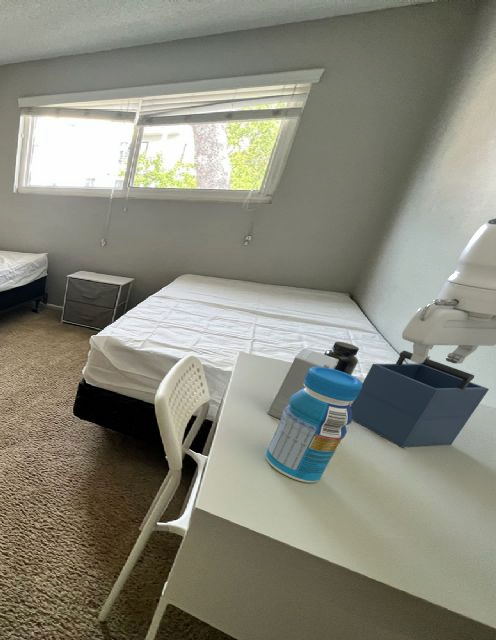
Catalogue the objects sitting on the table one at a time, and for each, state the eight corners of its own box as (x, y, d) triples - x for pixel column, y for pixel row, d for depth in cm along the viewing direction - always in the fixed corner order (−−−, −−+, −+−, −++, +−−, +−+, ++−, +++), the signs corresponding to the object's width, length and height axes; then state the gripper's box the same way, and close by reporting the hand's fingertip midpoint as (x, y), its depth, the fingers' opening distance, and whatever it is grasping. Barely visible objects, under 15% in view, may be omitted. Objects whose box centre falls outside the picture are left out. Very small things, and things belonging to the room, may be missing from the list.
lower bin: (390, 414, 86) (405, 389, 83) (451, 444, 76) (469, 417, 73) (345, 415, 84) (358, 390, 81) (401, 447, 74) (418, 419, 71)
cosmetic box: (275, 403, 87) (300, 346, 81) (312, 417, 82) (341, 358, 76) (265, 414, 82) (291, 354, 76) (304, 430, 77) (334, 368, 71)
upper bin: (405, 389, 83) (427, 350, 79) (469, 417, 73) (499, 374, 69) (358, 390, 81) (379, 350, 77) (418, 419, 71) (446, 375, 67)
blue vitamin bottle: (258, 463, 66) (299, 371, 59) (269, 445, 71) (308, 359, 64) (316, 493, 60) (369, 394, 53) (324, 470, 65) (373, 378, 58)
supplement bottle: (306, 378, 101) (323, 340, 97) (322, 375, 103) (339, 339, 99) (334, 390, 95) (354, 351, 91) (350, 388, 97) (370, 349, 93)
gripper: (453, 304, 64) (415, 369, 69) (536, 306, 67) (494, 369, 72) (410, 294, 70) (377, 355, 75) (488, 296, 73) (452, 355, 78)
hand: (435, 362), depth 73 cm, fingers open, 8 cm apart
